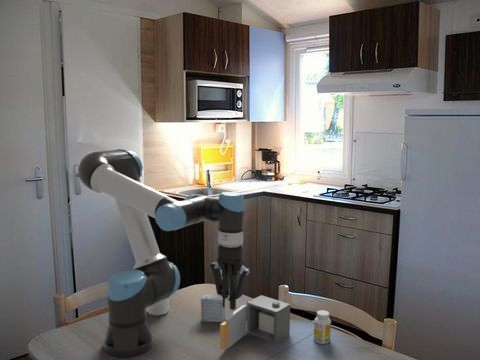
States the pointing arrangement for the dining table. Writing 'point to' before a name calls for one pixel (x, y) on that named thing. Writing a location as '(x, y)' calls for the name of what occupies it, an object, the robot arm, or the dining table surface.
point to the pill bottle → (159, 307)
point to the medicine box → (212, 308)
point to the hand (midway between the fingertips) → (228, 317)
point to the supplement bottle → (322, 327)
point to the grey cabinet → (268, 319)
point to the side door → (233, 328)
